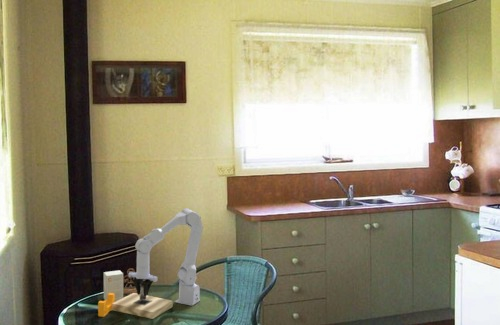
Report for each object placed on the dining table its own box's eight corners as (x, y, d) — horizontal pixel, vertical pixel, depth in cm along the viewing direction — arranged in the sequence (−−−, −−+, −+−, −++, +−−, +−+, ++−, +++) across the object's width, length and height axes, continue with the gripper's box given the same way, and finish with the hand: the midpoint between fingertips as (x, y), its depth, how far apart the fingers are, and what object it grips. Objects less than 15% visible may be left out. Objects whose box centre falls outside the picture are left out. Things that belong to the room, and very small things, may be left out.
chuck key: (148, 297, 235) (149, 281, 235) (142, 300, 230) (143, 284, 230) (143, 296, 236) (143, 280, 236) (136, 299, 231) (137, 283, 231)
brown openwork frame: (121, 294, 251) (121, 270, 250) (121, 291, 255) (121, 267, 254) (139, 293, 254) (140, 269, 253) (139, 290, 257) (139, 267, 256)
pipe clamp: (105, 306, 235) (105, 292, 235) (114, 307, 235) (114, 293, 234) (94, 316, 223) (94, 302, 223) (103, 317, 223) (103, 302, 222)
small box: (120, 296, 249) (120, 269, 247) (123, 300, 243) (123, 273, 242) (103, 298, 245) (103, 271, 244) (106, 302, 239) (106, 275, 238)
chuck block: (172, 306, 236) (172, 300, 236) (152, 318, 222) (152, 312, 222) (133, 298, 245) (133, 292, 245) (111, 309, 231) (111, 303, 230)
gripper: (124, 265, 231) (124, 294, 232) (151, 270, 225) (150, 300, 226) (134, 261, 237) (133, 290, 239) (160, 266, 232) (159, 295, 233)
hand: (142, 294), depth 233 cm, fingers closed on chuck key, 3 cm apart
